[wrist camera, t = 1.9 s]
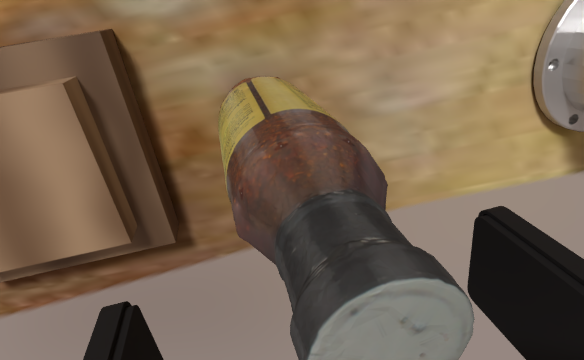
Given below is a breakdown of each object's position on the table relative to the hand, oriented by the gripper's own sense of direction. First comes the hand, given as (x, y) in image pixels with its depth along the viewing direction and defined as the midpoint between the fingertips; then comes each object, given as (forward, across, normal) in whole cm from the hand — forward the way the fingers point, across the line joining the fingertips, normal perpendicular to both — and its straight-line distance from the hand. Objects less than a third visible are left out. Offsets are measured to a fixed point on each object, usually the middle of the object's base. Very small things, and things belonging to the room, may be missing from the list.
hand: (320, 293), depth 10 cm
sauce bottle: (+18, -1, 0) cm, 18 cm away
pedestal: (+18, +14, 0) cm, 23 cm away
